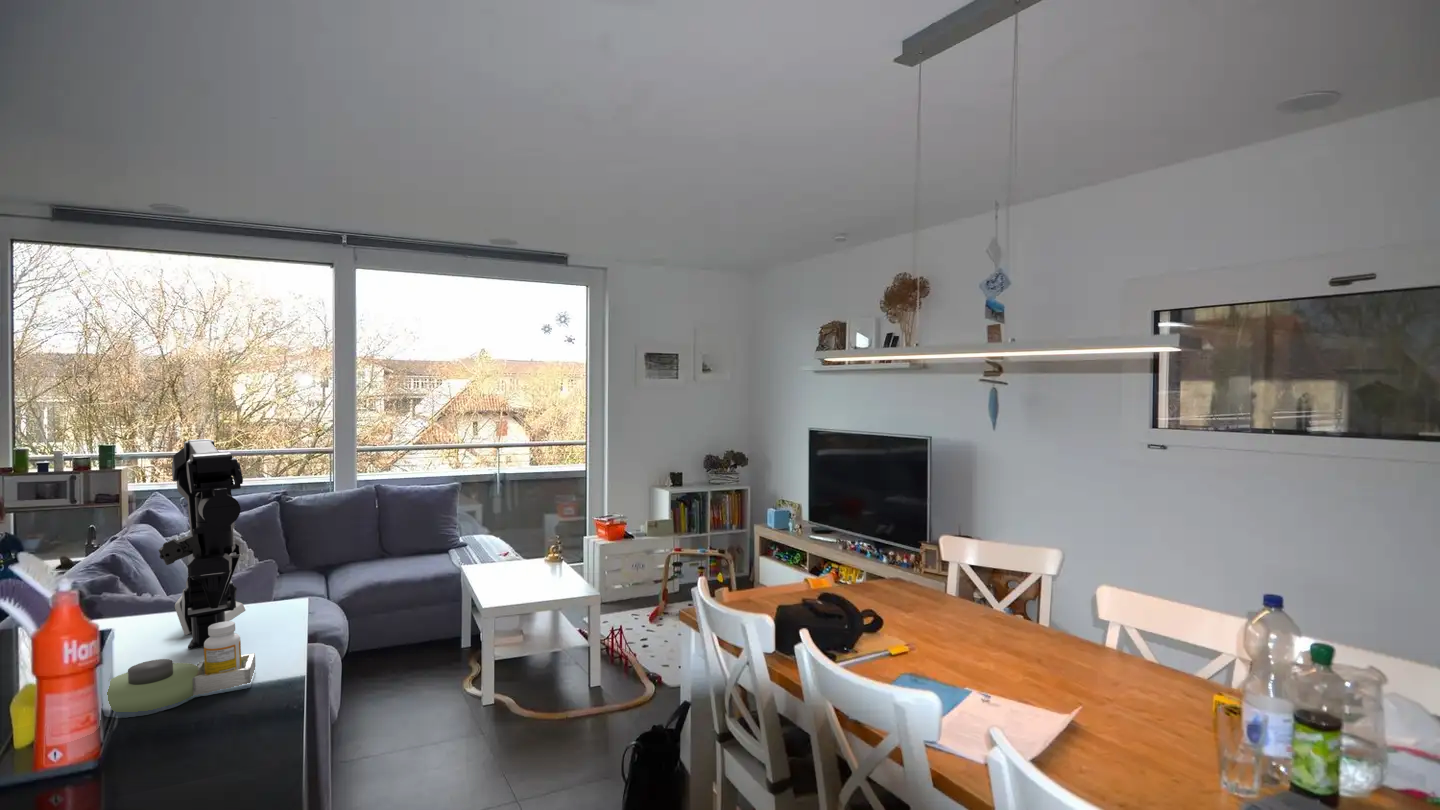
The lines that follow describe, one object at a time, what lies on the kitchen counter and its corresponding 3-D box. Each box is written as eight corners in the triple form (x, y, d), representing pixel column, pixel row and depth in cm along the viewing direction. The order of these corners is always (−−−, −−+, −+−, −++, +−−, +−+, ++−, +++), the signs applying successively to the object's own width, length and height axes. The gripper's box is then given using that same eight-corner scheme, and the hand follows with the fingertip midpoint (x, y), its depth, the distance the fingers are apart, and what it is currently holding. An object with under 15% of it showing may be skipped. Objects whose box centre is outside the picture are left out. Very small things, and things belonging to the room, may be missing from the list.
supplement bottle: (219, 673, 135) (217, 619, 135) (248, 673, 135) (246, 619, 135) (197, 685, 130) (195, 629, 130) (228, 685, 130) (225, 629, 129)
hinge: (209, 633, 160) (190, 590, 160) (187, 642, 160) (167, 599, 159) (246, 609, 177) (229, 571, 176) (226, 617, 176) (208, 579, 176)
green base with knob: (114, 694, 129) (112, 660, 129) (205, 679, 135) (203, 646, 135) (91, 725, 118) (89, 687, 117) (191, 707, 123) (190, 671, 123)
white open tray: (199, 680, 134) (198, 661, 134) (255, 671, 138) (254, 652, 138) (190, 698, 127) (189, 678, 127) (250, 688, 131) (249, 668, 130)
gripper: (172, 516, 146) (176, 595, 147) (150, 533, 129) (154, 622, 130) (240, 510, 151) (243, 587, 152) (227, 526, 134) (230, 612, 135)
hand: (218, 601), depth 142 cm, fingers open, 9 cm apart
